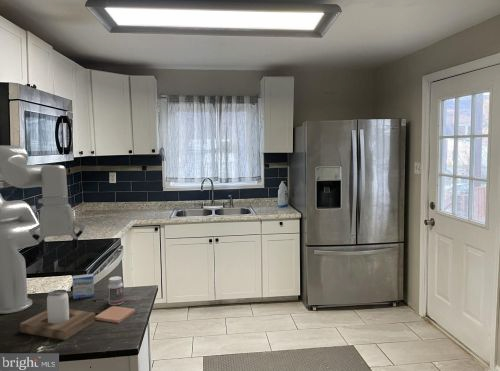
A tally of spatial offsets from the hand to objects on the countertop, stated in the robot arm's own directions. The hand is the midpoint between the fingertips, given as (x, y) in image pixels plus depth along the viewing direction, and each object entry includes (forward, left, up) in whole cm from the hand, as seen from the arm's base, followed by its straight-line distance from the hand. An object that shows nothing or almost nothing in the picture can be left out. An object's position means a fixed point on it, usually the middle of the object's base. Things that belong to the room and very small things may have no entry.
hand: (59, 251), depth 130 cm
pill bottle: (+7, +21, -26) cm, 34 cm away
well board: (+1, -2, -25) cm, 26 cm away
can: (+1, -2, -26) cm, 26 cm away
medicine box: (-10, +23, -26) cm, 36 cm away
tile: (+14, +11, -25) cm, 31 cm away
